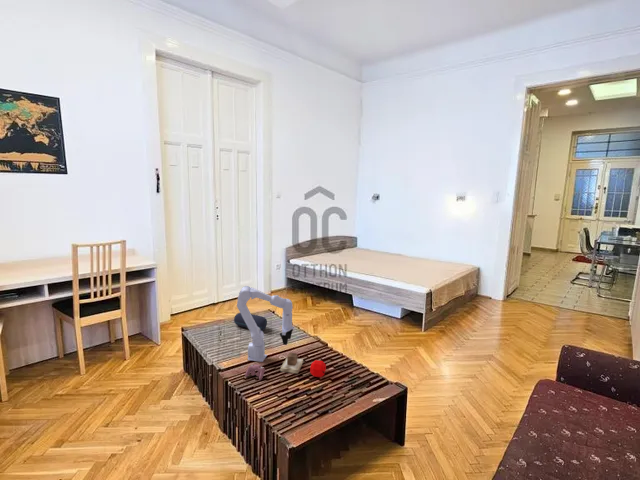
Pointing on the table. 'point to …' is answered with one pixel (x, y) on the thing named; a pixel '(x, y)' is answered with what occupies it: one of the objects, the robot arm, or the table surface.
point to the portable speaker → (259, 320)
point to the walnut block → (292, 359)
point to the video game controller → (257, 368)
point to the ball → (318, 368)
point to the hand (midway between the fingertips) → (286, 341)
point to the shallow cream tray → (292, 366)
